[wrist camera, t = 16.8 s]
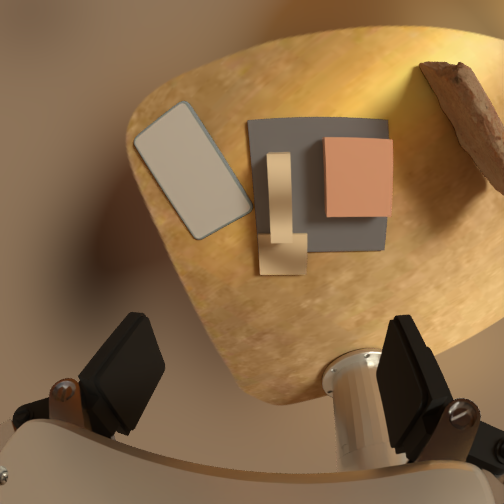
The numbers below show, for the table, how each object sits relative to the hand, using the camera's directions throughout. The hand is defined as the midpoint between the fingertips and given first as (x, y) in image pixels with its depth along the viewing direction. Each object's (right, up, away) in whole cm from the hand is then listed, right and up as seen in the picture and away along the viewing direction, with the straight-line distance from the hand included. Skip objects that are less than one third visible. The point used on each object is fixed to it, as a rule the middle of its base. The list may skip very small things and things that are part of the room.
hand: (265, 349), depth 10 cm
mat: (+7, +11, +19) cm, 23 cm away
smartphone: (-7, +13, +20) cm, 25 cm away
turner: (+3, +8, +20) cm, 22 cm away
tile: (+11, +8, +17) cm, 22 cm away
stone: (+24, +18, +13) cm, 33 cm away
